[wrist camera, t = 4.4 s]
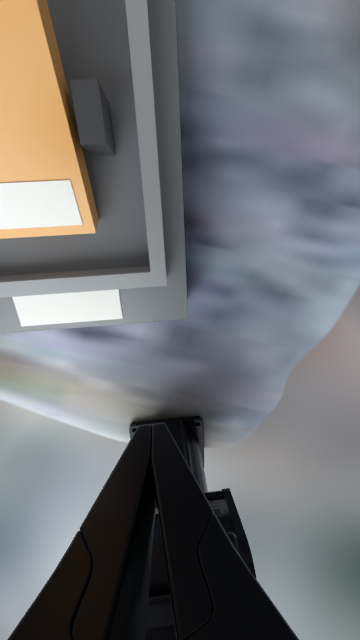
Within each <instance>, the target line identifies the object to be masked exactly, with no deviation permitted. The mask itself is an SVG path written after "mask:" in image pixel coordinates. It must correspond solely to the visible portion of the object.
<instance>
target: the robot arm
mask: <svg viewBox="0 0 360 640" xmlns="http://www.w3.org/2000/svg"><path fill="white" fill-rule="evenodd" d="M196 422H198V423H196ZM134 428H137V429H134ZM129 432H130V438H131V440H130V442H129V443H128V445H127V447H126V449H125V450H124V452H123V454H122V456H121V457H120V459H119V461H118V463H117V464H116V466H115V468H114V470H113V471H112V473H111V475H110V477H109V479H108V480H107V482H106V483H105V485H104V487H103V489H102V490H101V492H100V494H99V496H98V497H97V499H96V501H95V503H94V504H93V506H92V508H91V510H90V511H89V513H88V515H87V517H86V518H85V520H84V522H83V523H82V525H81V527H80V531H78V532H77V534H76V535H75V537H74V539H73V541H72V542H71V544H70V546H69V548H68V549H67V551H66V553H65V554H64V556H63V557H62V559H61V561H60V562H59V564H58V566H57V567H56V569H55V571H54V572H53V574H52V575H51V577H50V578H49V580H48V581H47V583H46V584H45V586H44V587H43V589H42V590H41V592H40V593H39V595H38V596H37V598H36V599H35V601H34V602H33V604H32V605H31V607H30V608H29V609H28V611H27V612H26V614H25V615H24V617H23V618H22V619H21V621H20V622H19V624H18V625H17V627H16V628H15V630H14V631H13V633H12V634H11V635H10V637H9V638H8V640H299V639H298V637H297V636H296V635H295V633H294V632H293V631H292V629H291V628H290V627H289V625H288V624H287V622H286V621H285V619H284V618H283V617H282V615H281V614H280V612H279V611H278V610H277V608H276V607H275V605H274V604H273V602H272V601H271V600H270V598H269V597H268V596H267V594H266V593H265V591H264V590H263V588H262V587H261V586H260V584H259V583H258V581H257V580H256V574H255V569H254V564H253V559H252V555H251V551H250V547H249V544H248V540H247V537H246V534H245V531H244V529H243V526H242V523H241V520H240V517H239V515H238V512H237V509H236V506H235V503H234V501H233V498H232V495H231V492H230V489H229V488H227V489H222V491H214V492H208V489H207V484H206V479H205V473H204V428H203V419H202V418H201V417H199V416H195V417H185V418H175V419H165V420H155V421H145V422H135V423H132V424H131V425H130V429H129Z"/></svg>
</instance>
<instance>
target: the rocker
mask: <svg viewBox="0 0 360 640" xmlns="http://www.w3.org/2000/svg"><path fill="white" fill-rule="evenodd" d="M98 222H99V218H98V214H97V209H96V205H95V201H94V197H93V193H92V188H91V184H90V180H89V176H88V171H87V167H86V163H85V159H84V155H83V150H82V146H81V145H80V139H79V134H78V129H77V125H76V121H75V117H74V112H73V108H72V104H71V100H70V96H69V91H68V87H67V83H66V79H65V75H64V70H63V66H62V62H61V58H60V53H59V49H58V45H57V41H56V37H55V32H54V28H53V24H52V20H51V16H50V11H49V7H48V3H47V0H0V239H5V238H22V237H39V236H56V235H73V234H90V233H96V231H97V226H98Z"/></svg>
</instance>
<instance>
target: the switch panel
mask: <svg viewBox="0 0 360 640" xmlns="http://www.w3.org/2000/svg"><path fill="white" fill-rule="evenodd" d="M47 3H48V7H49V11H50V16H51V20H52V24H53V28H54V32H55V37H56V41H57V45H58V49H59V53H60V58H61V62H62V66H63V70H64V75H65V79H66V83H67V87H68V91H69V96H70V100H71V104H72V108H73V112H74V117H75V121H76V125H77V129H78V134H79V139H80V145H81V146H82V150H83V155H84V159H85V163H86V167H87V171H88V176H89V180H90V184H91V188H92V193H93V197H94V201H95V205H96V209H97V214H98V218H99V222H98V226H97V231H96V233H90V234H73V235H56V236H39V237H22V238H5V239H0V334H2V333H15V332H28V331H41V330H53V329H66V328H79V327H92V326H104V325H117V324H130V323H143V322H155V321H168V320H181V319H188V310H187V284H186V259H185V233H184V207H183V182H182V156H181V131H180V105H179V79H178V54H177V28H176V2H175V0H47Z"/></svg>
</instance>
